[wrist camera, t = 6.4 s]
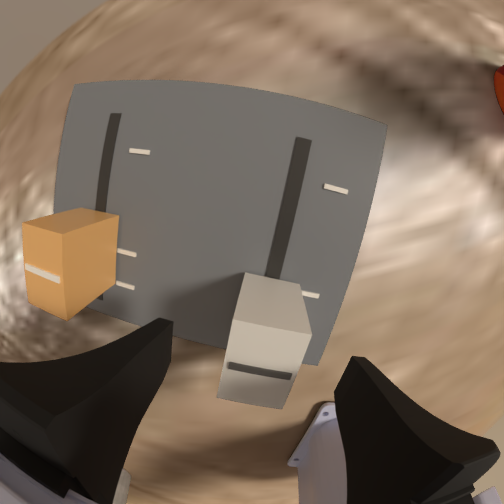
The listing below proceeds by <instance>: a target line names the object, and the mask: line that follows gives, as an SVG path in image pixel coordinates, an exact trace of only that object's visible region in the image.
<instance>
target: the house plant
mask: <svg viewBox="0 0 504 504" xmlns="http://www.w3.org/2000/svg"><path fill="white" fill-rule="evenodd" d="M130 480H131V475H130V474H129V473H128V472H127V471H126V470H125V469H122V472H121V475H120V478H119V482H118V485H117V489H116V492H115V496H114V500H113V504H126V502H127V496H128V491H129V485H130Z"/></svg>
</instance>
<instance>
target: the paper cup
mask: <svg viewBox="0 0 504 504" xmlns="http://www.w3.org/2000/svg"><path fill="white" fill-rule="evenodd" d="M494 87H495V92H496V96H497V99H498V102H499V105H500V107H501V110H502V112H503V114H504V65H503V66H501V67H500V68H498V69H497V70H496V72H495V75H494Z"/></svg>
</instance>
